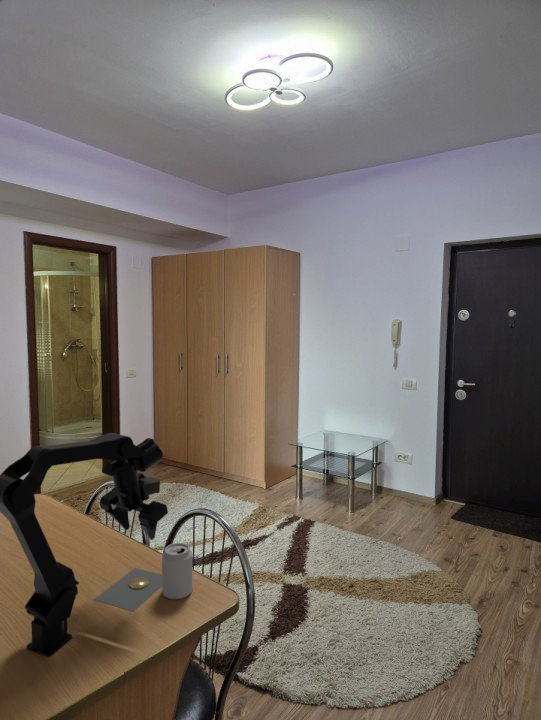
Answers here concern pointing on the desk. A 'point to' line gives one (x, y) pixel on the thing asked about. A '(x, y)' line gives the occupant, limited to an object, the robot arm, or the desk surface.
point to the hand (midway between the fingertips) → (140, 533)
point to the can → (177, 571)
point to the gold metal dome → (139, 583)
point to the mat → (130, 590)
